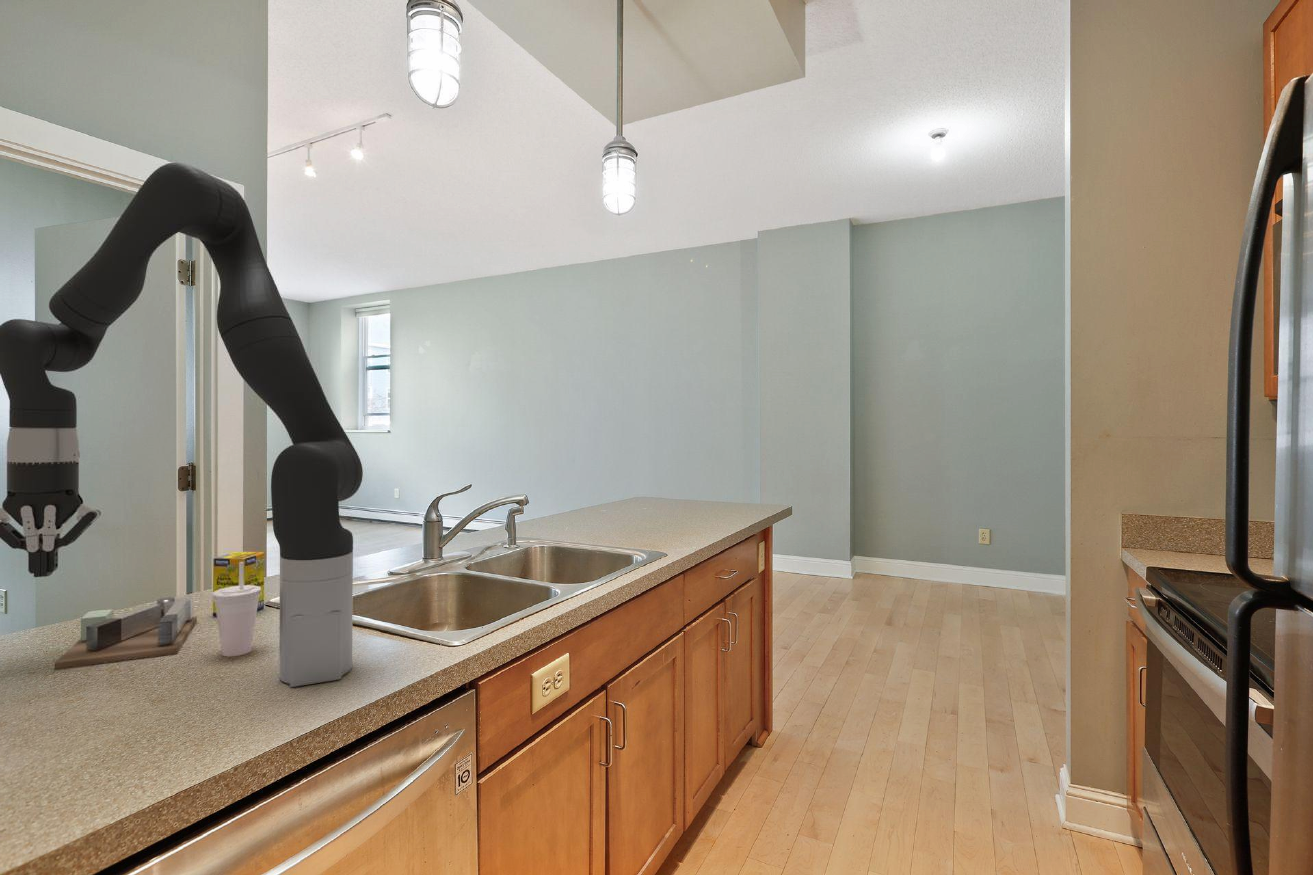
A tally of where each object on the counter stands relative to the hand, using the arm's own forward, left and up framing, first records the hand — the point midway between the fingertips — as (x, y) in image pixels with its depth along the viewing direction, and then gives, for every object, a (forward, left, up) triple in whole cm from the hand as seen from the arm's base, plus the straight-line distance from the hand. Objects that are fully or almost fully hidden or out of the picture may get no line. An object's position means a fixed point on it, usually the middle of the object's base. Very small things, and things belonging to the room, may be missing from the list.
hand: (43, 575), depth 91 cm
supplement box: (+15, -23, -13) cm, 30 cm away
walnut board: (+3, -10, -13) cm, 16 cm away
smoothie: (-8, -25, -13) cm, 29 cm away
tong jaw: (+3, -9, -12) cm, 15 cm away
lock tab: (+6, -5, -11) cm, 14 cm away
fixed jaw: (+4, -14, -12) cm, 18 cm away
